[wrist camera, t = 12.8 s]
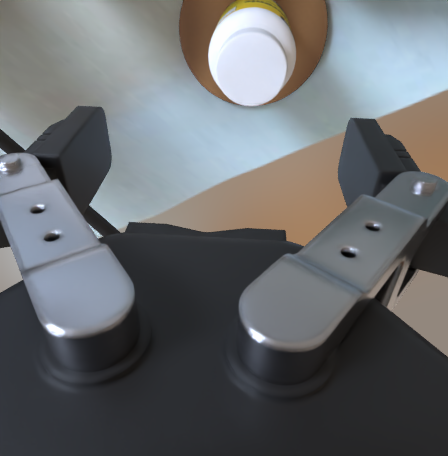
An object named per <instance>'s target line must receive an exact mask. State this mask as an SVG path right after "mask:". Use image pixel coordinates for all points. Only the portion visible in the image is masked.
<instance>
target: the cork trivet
mask: <svg viewBox="0 0 448 456" xmlns="http://www.w3.org/2000/svg"><path fill="white" fill-rule="evenodd" d="M234 1H235V0H183V4H182V7H181V12H180V20H179V34H180V42H181V47H182V51H183V54H184V57H185V60H186V62H187V64H188V66H189V68H190V70H191V72H192V73H193V75H194V76H195V78H196V79H197V80H198V81H199V82H200V84H201V85H202V86H204V87H205V88H206V89H207V90H208V91H209V92H211V93H212V94H213V95H215V96H217V97H218V98H220V99H222V100H224V101H227V102H230V103H233V104H237V103H235V102H233V101H232V100H230V99H229V98H228V97H227V96H226V95H225V94H224V93H223V92H222V90H221V89H220V87H219V86H218V85H217V84H216V82H215V80H214V79H213V76H212V74H211V71H210V67H209V61H208V52H209V45H210V41H211V38H212V35H213V33H214V31H215V29H216V26H217V24H218V22H219V19H220V17H221V16H222V14H223V12H224V11H225V9H226V8H227V7H228V6H229V5H230V4H231V3H232V2H234ZM273 1H275V2H276V3H277V4H278V5H279V6H280V7H281V8H282V10H283V11H284V13H285V14H286V16H287V19H288V21H289V24H290V28H291V31H292V34H293V36H294V40H295V46H296V62H295V66H294V70H293V72H292V75H291V77H290V78H289V80H288V82H287V83H286V84H285V86H284V87H283V88H282V89H281V91H280V92H279V93H278V94H277V95H276V96H275V97H274V98H273V99H272V100H270V101H269V102H267V103H265V104H262V105H266V104H269V103H273V102H276V101H278V100H281V99H283V98H285V97H286V96H288V95H290V94H291V93H293V92H294V91H295V90H297V89H298V88H299V87H300V86H301V85H302V84H303V83H304V82H305V81H306V80H307V79H308V77H309V76H310V75H311V74H312V72H313V70H314V69H315V67H316V66H317V64H318V62H319V60H320V58H321V55H322V52H323V49H324V46H325V42H326V37H327V28H328V17H327V9H326V3H325V0H273ZM237 105H240V104H237ZM243 106H244V105H243ZM258 106H260V105H258Z"/></svg>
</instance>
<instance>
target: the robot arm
mask: <svg viewBox="0 0 448 456" xmlns="http://www.w3.org/2000/svg"><path fill="white" fill-rule="evenodd" d="M0 148H1V149H2V150H3V151H4V152H6V153H7V154H5V155H1V156H0V248H4V247H10V246H11V249H12V251H13V254H14V256H15V259H16V262H17V264H18V267H19V270H20V272H21V275H22V278H23V280H22V281H20V282H18V283H17V284H15V285H13V286H11V287H10V288H8V289H6V290H5V291H3V292H1V293H0V456H448V357H447V356H446V355H444V354H443V353H442V352H441V351H439V350H438V349H437V348H436V347H435V346H433V345H432V344H431V343H430V342H428V341H427V340H426V339H425V338H424V337H422V336H421V335H420V334H419V333H417V332H416V331H415V330H413V329H412V328H411V327H410V326H409V325H407V324H406V323H405V322H404V321H402V320H401V319H400V318H399V317H398V316H396V315H395V314H394V313H393V312H392V310H393V309H394V307H395V306H396V304H397V303H398V301H399V300H400V298H401V297H402V295H403V294H404V293H405V291H406V290H407V288H408V287H409V285H410V284H411V282H412V281H413V279H414V278H415V276H416V275H417V273H418V271H419V270H423V271H427V272H430V273H434V274H438V275H442V276H445V277H448V182H446V181H445V180H443V179H442V178H440V177H437V176H435V175H432V174H429V173H425V172H421V171H420V169H419V168H418V167H417V165H416V163H415V162H414V161H413V159H412V158H411V156H410V155H409V153H408V152H406V149H405V147H404V146H403V144H402V143H401V142H400V141H399V140H397V139H396V138H394V137H393V136H391V135H385V134H384V133H383V131H382V129H381V128H380V126H379V125H378V123H377V121H376V120H375V119H364V118H351V119H350V120H349V122H348V125H347V129H346V134H345V138H344V142H343V147H342V152H341V156H340V161H339V167H338V180H339V183H340V186H341V189H342V193H343V196H344V199H345V202H346V205H347V208H346V209H345V210H344V211H343V212H342V213H341V214H340V215H338V216H337V217H336V218H335V219H334V220H333V221H332V222H331V223H330V224H329V225H328V226H326V228H324V229H323V230H322V231H321V232H320V233H319V234H318V235H317V236H315V238H313V239H312V240H311V241H310V242H309V243H308V244H307V245H306V246H301V245H299V244H296V243H293V242H289V241H286V231H285V230H271V229H252V228H245V229H235V230H226V231H217V232H200V231H196V230H191V229H186V228H182V227H178V226H173V225H169V224H155V223H137V222H129V224H128V226H127V229H126V231H125V232H124V233H120V232H119V231H118V230H117V229H116V228H115V227H113V226H112V225H111V224H110V223H109V222H108V221H107V220H105V219H104V218H103V217H102V216H101V215H100V214H98V213H97V212H96V211H95V210H94V209H93V208H91V207H90V206H89V204H90V202H91V201H92V199H93V197H94V195H95V194H96V192H97V190H98V189H99V187H100V185H101V183H102V182H103V180H104V178H105V177H106V175H107V173H108V171H109V169H110V167H111V160H112V155H111V147H110V141H109V135H108V129H107V123H106V117H105V113H104V110H103V108H102V107H93V106H77V107H76V108H75V109H74V110H73V111H72V112H71V113H70V115H69V116H68V117H67V118H66V119H65V120H61V121H59V122H57V123H55V124H53V125H51V126H49V127H48V128H47V129H46V130H45V131H44V132H43V135H40V136H39V137H38V138H37V141H34V143H33V144H32V145H31V146H30V147H29V148H28V149H27V150H26V151H25V150H24V149H23V148H22V147H21V146H20V145H18V144H17V143H16V142H15V141H14V140H13V139H11V138H10V137H9V136H8V135H7V134H6V133H4V132H3V131H2V130H1V129H0ZM88 224H90V225H91V226H92V227H93V228H94V229H95V230H97V231H98V232H99V233H100V234H101V235H102V236H104V237H102V238H99V239H98V238H97V237H96V235H95V234H94V232H93V231H92V229H91V228H90V226H89V225H88Z"/></svg>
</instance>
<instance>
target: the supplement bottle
mask: <svg viewBox="0 0 448 456" xmlns="http://www.w3.org/2000/svg"><path fill="white" fill-rule="evenodd" d="M208 61H209V67H210V71H211V74H212V76H213V79H214V80H215V82H216V84H217V85H218V86H219V87H220V89H221V90H222V92H223V93H224V94H225V95H226V96H227V97H228V98H229V99H230V100H232V101H233V102H235V103H237V104H240V105H244V106H258V105H262V104H265V103H267V102H269V101H270V100H272V99H273V98H274V97H275V96H276V95H277V94H278V93H279V92H280V91H281V89H282V88H283V87H284V86H285V84H286V83H287V82H288V80H289V78H290V77H291V75H292V72H293V70H294V66H295V62H296V46H295V40H294V36H293V34H292V31H291V28H290V24H289V21H288V19H287V16H286V14H285V13H284V11H283V10H282V8H281V7H280V6H279V5H278V4H277V3H276V2H275V1H273V0H235V1H234V2H232V3H231V4H230V5H229V6H228V7H227V8H226V9H225V11H224V12H223V14H222V16H221V17H220V19H219V22H218V24H217V26H216V29H215V31H214V33H213V35H212V38H211V41H210V45H209V52H208Z"/></svg>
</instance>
